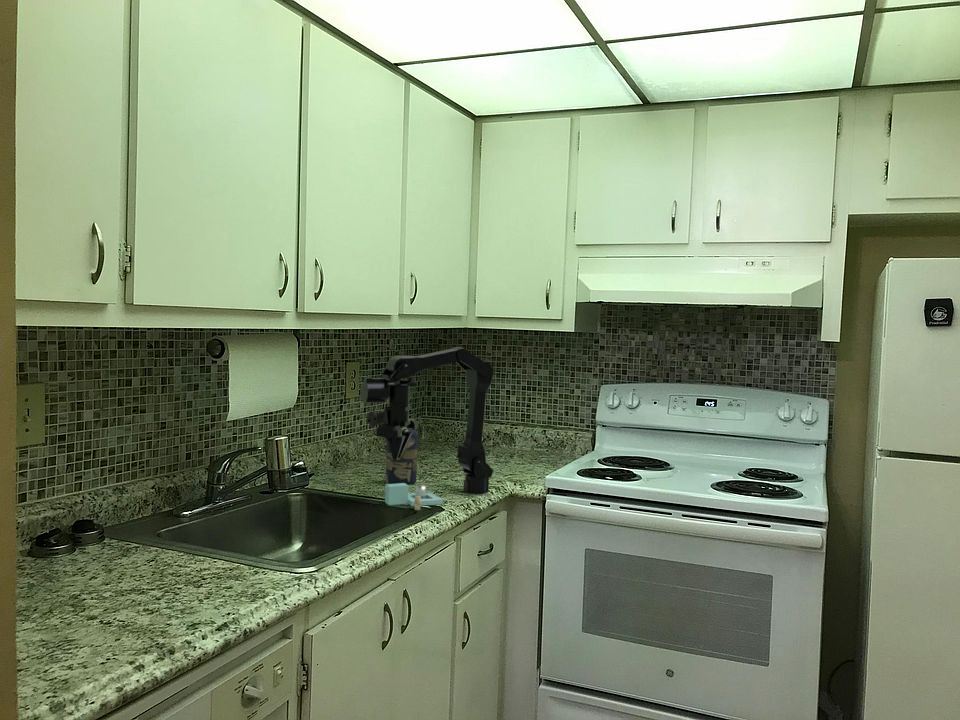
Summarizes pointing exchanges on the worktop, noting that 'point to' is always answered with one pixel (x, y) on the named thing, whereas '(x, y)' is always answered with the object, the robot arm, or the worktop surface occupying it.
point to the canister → (403, 463)
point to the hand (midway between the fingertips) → (396, 458)
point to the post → (421, 491)
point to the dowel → (417, 503)
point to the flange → (407, 496)
